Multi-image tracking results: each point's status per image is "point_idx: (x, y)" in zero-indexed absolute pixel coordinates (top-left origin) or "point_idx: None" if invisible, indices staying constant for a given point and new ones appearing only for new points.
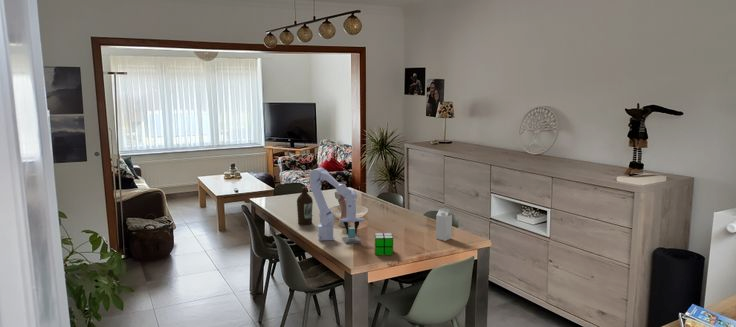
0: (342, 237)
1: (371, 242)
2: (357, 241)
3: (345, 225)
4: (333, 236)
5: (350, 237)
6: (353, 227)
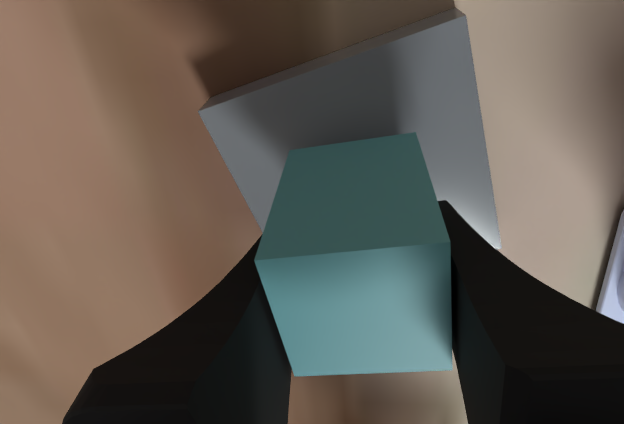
0: (499, 244)
1: (56, 119)
2: (250, 89)
3: (618, 335)
4: (603, 314)
5: (375, 141)
6: (311, 357)
